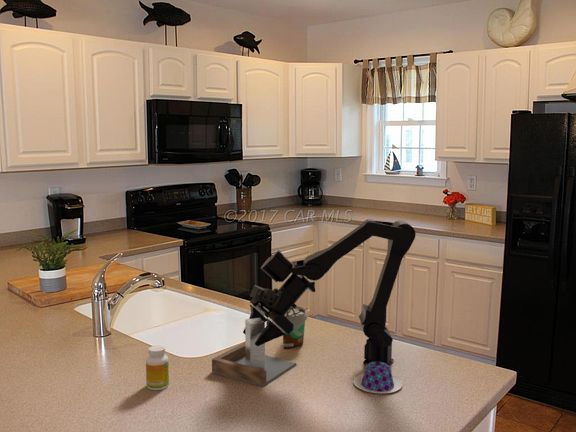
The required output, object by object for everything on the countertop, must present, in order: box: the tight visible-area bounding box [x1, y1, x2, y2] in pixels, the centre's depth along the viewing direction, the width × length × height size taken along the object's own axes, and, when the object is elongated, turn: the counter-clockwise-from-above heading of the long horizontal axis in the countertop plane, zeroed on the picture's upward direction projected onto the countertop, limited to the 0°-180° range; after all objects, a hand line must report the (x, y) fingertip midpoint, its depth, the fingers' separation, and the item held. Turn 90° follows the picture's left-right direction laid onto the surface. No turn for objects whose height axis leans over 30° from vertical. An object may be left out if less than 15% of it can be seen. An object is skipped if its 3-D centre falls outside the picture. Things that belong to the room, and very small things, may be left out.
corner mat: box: [211, 354, 297, 388], centre depth 150 cm, size 16×16×1 cm
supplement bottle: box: [145, 345, 170, 391], centre depth 139 cm, size 5×5×10 cm
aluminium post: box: [244, 318, 266, 369], centre depth 149 cm, size 4×4×12 cm
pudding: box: [353, 362, 403, 394], centre depth 141 cm, size 12×12×5 cm
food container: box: [282, 305, 308, 350], centre depth 167 cm, size 12×6×10 cm, turn 168°
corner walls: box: [211, 342, 266, 384], centre depth 150 cm, size 16×16×3 cm
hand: (249, 339), depth 148 cm, fingers open, 9 cm apart
